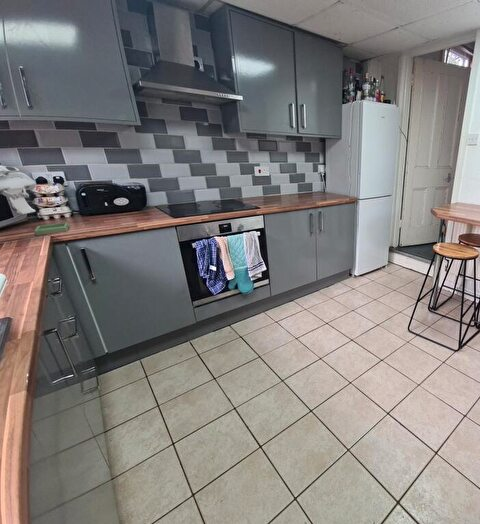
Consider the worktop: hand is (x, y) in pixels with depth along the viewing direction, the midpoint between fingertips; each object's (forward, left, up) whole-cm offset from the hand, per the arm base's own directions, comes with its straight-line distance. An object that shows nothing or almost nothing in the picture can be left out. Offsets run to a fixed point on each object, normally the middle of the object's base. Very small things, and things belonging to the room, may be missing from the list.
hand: (22, 197), depth 132 cm
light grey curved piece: (-1, 0, -7) cm, 7 cm away
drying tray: (+3, +14, -20) cm, 24 cm away
